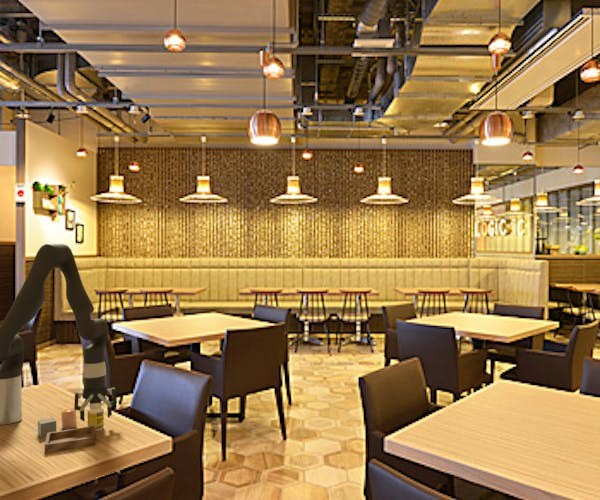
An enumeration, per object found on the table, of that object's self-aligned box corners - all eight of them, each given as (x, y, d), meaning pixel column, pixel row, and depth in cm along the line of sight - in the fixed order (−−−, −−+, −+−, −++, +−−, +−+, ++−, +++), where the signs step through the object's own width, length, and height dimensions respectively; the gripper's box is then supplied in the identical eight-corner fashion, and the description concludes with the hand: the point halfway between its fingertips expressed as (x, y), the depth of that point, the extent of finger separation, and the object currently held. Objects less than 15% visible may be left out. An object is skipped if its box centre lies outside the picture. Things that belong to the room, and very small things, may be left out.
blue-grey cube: (41, 438, 176) (40, 424, 176) (38, 434, 180) (37, 420, 180) (56, 435, 179) (56, 420, 179) (53, 431, 183) (53, 417, 183)
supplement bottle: (98, 432, 181) (97, 404, 181) (84, 431, 182) (84, 404, 182) (106, 427, 186) (106, 400, 186) (93, 426, 187) (93, 399, 187)
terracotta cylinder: (62, 430, 183) (61, 413, 183) (61, 426, 188) (61, 410, 188) (77, 427, 186) (76, 411, 186) (76, 423, 190) (75, 407, 190)
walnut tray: (44, 453, 162) (44, 444, 162) (47, 440, 173) (47, 432, 173) (95, 445, 168) (94, 437, 168) (94, 433, 179) (94, 425, 179)
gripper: (115, 369, 190) (116, 412, 190) (73, 374, 185) (75, 418, 185) (116, 374, 183) (117, 418, 183) (73, 379, 178) (74, 425, 178)
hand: (96, 418), depth 184 cm, fingers open, 8 cm apart
